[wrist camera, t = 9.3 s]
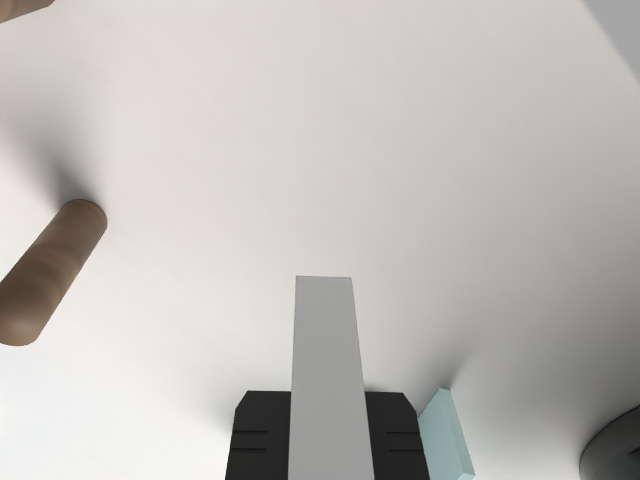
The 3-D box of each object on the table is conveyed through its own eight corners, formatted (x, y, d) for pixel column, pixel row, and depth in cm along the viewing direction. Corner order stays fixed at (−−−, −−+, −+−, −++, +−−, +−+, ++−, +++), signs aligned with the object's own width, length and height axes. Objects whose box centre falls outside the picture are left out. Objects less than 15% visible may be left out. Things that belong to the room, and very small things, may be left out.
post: (103, 200, 29) (31, 301, 22) (110, 238, 31) (46, 346, 23) (56, 198, 29) (-32, 299, 22) (66, 237, 31) (-14, 345, 23)
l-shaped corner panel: (448, 383, 39) (475, 475, 33) (383, 474, 45) (396, 566, 39) (297, 345, 37) (295, 436, 30) (250, 447, 43) (240, 540, 36)
